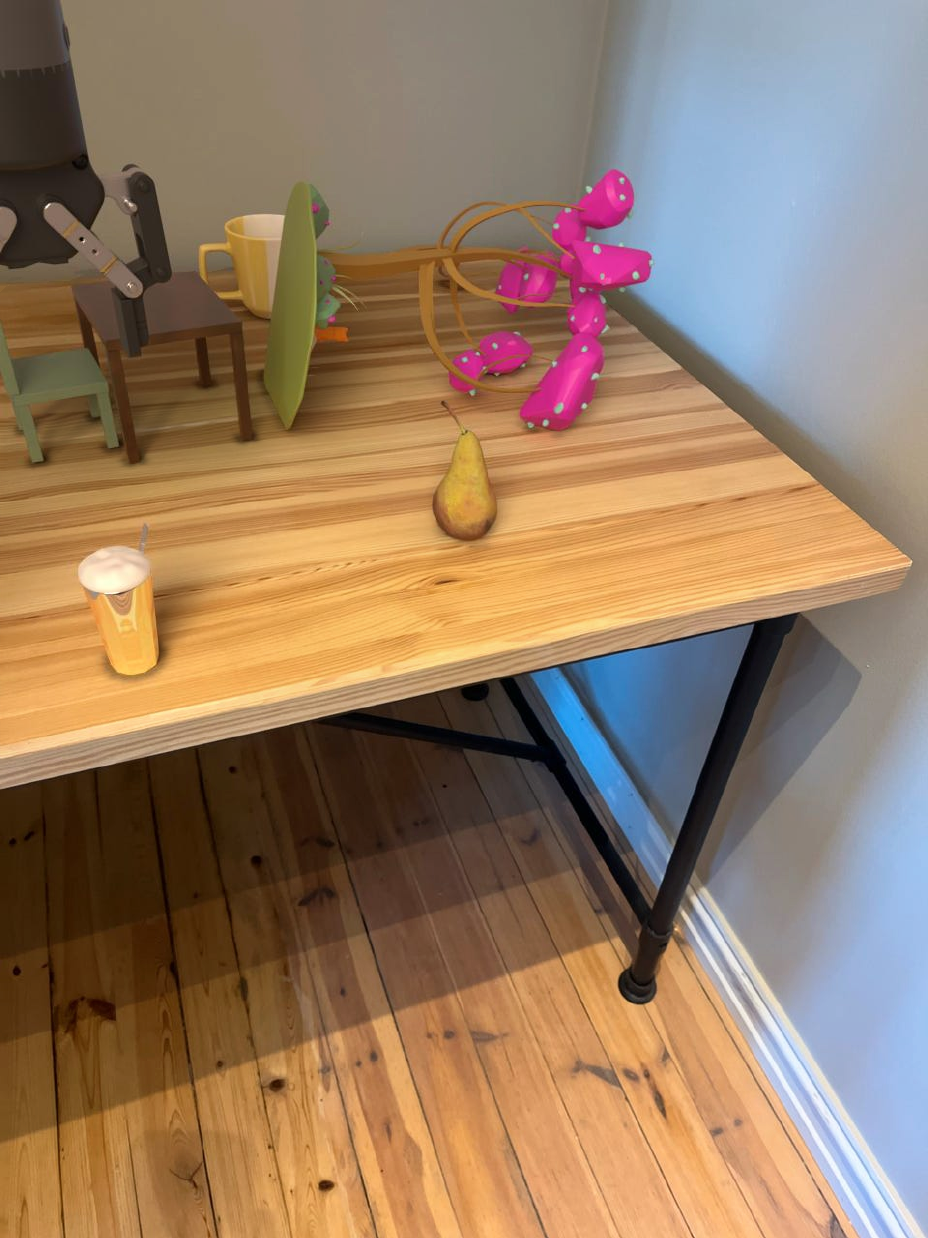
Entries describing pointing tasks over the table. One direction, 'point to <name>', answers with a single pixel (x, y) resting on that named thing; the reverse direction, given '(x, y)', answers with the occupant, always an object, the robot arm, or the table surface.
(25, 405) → the chair
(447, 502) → the fruit
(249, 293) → the mug
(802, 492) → the table surface
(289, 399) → the green and pink pieces
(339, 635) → the table surface
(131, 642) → the milkshake
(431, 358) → the table surface
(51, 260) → the robot arm
